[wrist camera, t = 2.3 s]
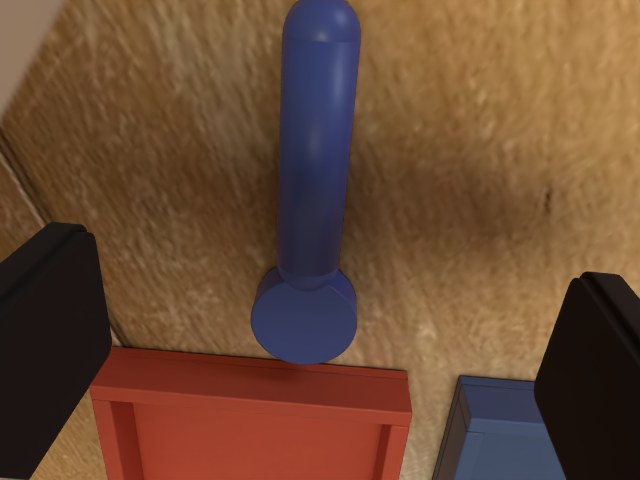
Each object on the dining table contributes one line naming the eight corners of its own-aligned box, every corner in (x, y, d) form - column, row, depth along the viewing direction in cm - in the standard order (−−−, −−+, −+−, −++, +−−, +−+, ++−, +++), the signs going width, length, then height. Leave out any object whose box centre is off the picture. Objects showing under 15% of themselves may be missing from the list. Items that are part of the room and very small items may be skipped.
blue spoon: (258, -15, 12) (245, -11, 11) (393, -5, 12) (400, 1, 11) (256, 336, 17) (246, 374, 16) (351, 344, 17) (351, 383, 16)
